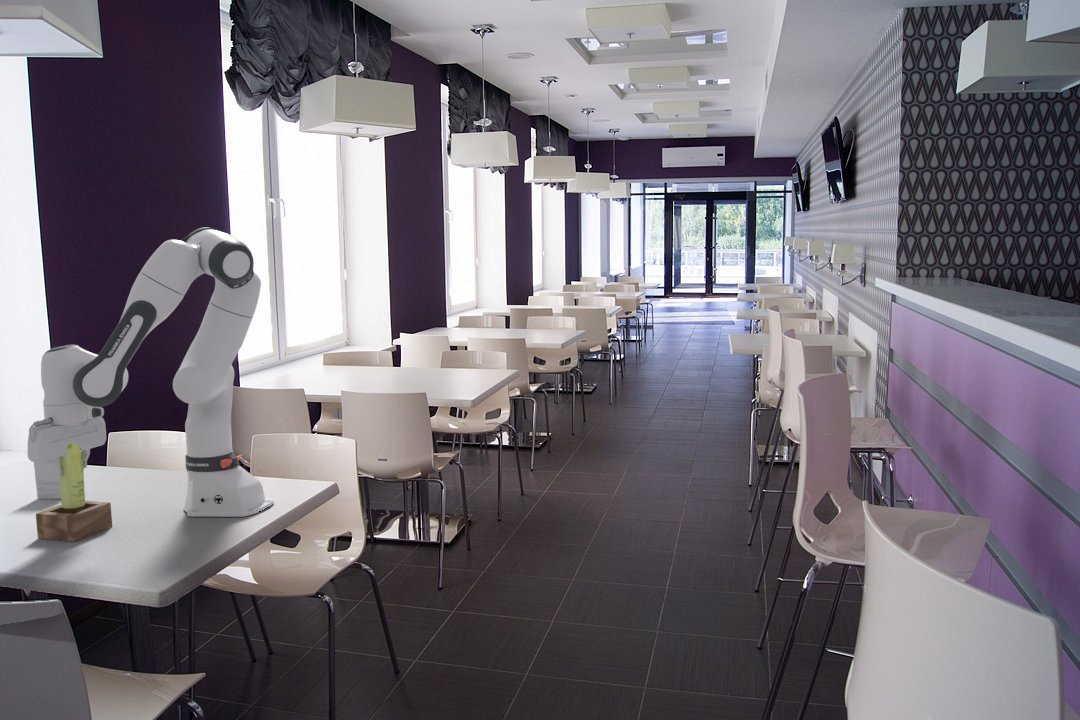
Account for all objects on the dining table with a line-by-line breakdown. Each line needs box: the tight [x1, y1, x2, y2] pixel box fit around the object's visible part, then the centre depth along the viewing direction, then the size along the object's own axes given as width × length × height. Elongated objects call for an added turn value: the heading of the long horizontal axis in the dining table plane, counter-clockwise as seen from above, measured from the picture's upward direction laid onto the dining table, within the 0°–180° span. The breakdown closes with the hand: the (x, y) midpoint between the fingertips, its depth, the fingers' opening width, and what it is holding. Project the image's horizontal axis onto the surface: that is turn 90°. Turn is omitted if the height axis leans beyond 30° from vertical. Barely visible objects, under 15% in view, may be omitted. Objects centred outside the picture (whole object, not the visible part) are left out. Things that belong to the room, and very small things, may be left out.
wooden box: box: [35, 500, 113, 543], centre depth 206 cm, size 11×12×6 cm
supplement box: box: [33, 461, 61, 500], centre depth 239 cm, size 7×7×13 cm
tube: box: [59, 437, 86, 509], centre depth 204 cm, size 6×5×20 cm
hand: (70, 472), depth 204 cm, fingers closed on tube, 6 cm apart
